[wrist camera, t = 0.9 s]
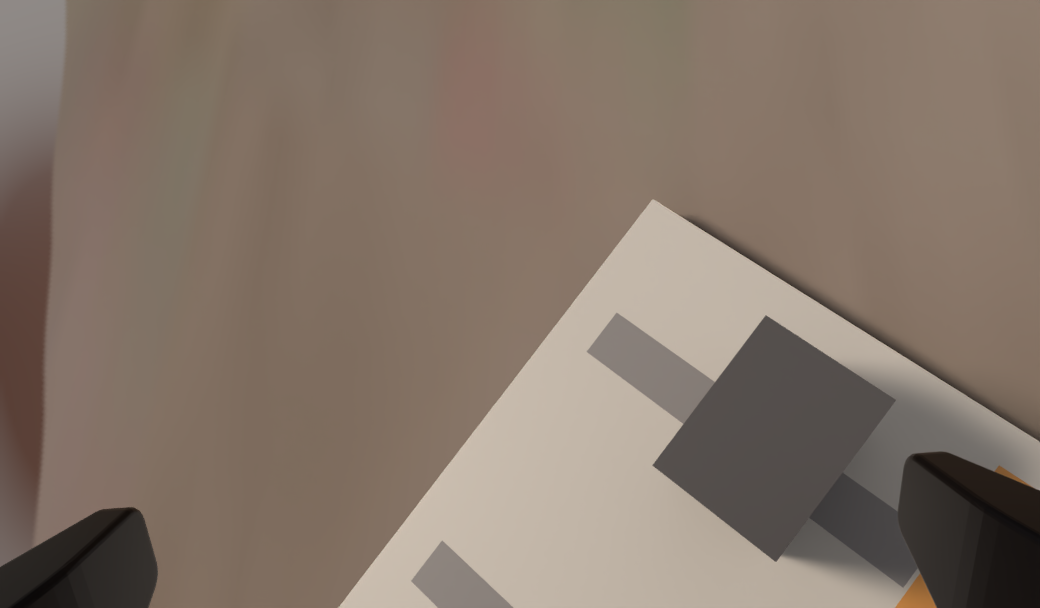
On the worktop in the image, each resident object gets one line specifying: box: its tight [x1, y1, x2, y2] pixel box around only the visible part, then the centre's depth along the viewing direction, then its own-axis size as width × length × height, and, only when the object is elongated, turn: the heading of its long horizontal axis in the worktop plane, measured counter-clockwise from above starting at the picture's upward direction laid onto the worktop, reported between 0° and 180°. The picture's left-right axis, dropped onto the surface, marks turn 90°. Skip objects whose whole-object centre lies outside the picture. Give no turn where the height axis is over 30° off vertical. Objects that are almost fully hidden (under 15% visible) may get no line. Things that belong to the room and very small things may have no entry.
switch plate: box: [339, 200, 1040, 608], centre depth 20 cm, size 12×16×1 cm
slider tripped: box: [652, 315, 896, 562], centre depth 18 cm, size 3×4×4 cm
